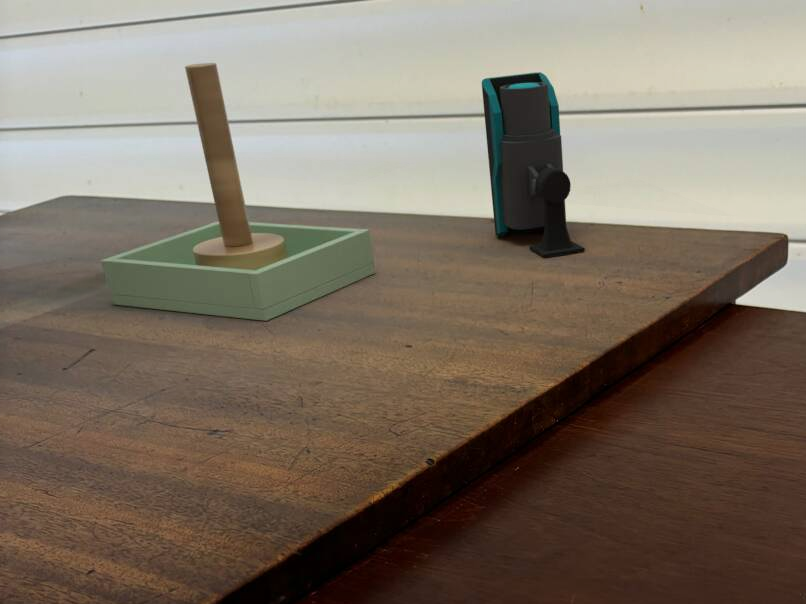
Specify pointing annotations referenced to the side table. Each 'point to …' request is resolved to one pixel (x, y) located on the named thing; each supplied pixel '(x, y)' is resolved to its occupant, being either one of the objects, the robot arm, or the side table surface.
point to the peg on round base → (226, 183)
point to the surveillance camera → (527, 160)
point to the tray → (240, 272)
